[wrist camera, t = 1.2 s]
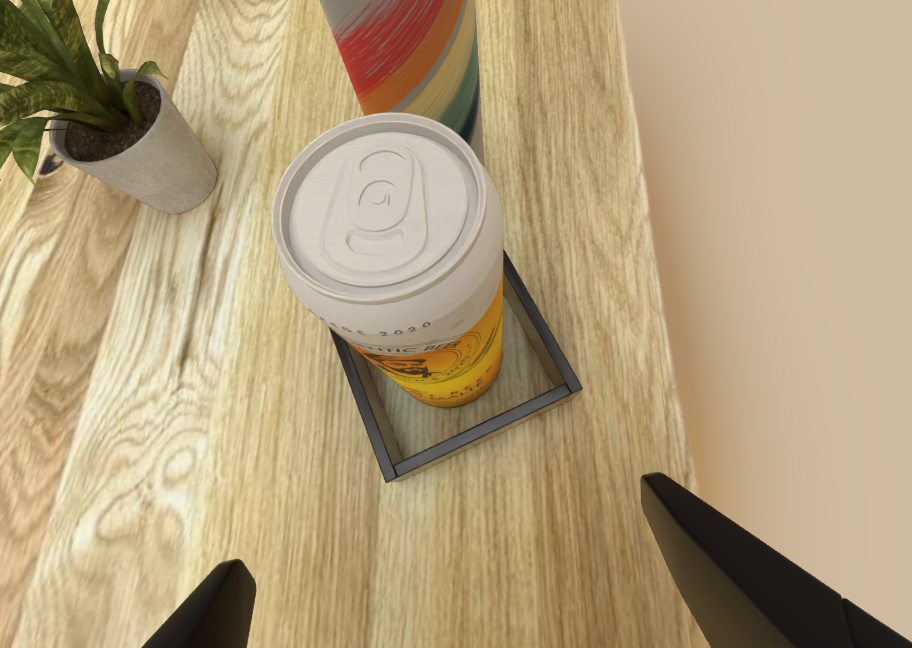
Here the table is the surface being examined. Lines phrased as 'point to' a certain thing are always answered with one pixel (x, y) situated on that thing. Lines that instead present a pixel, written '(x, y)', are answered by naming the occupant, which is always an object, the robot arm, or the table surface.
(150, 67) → the house plant
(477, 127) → the lotion bottle
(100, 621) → the table surface
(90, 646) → the table surface
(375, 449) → the black square frame
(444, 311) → the beer can
